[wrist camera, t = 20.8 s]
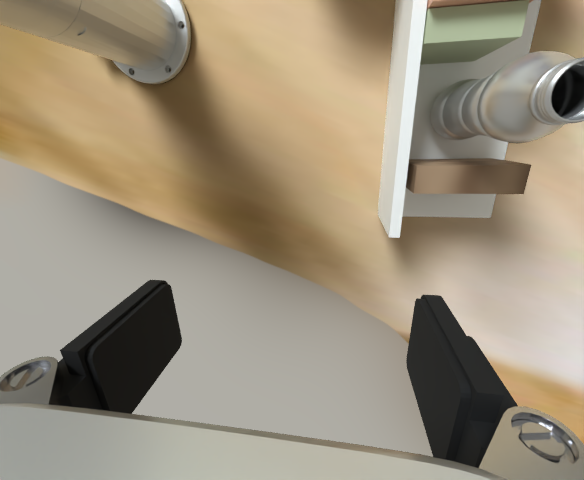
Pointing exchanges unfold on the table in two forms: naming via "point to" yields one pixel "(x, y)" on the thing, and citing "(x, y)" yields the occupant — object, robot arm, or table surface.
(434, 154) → the shelf
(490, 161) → the bookend
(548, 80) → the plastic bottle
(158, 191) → the table surface
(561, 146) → the table surface
